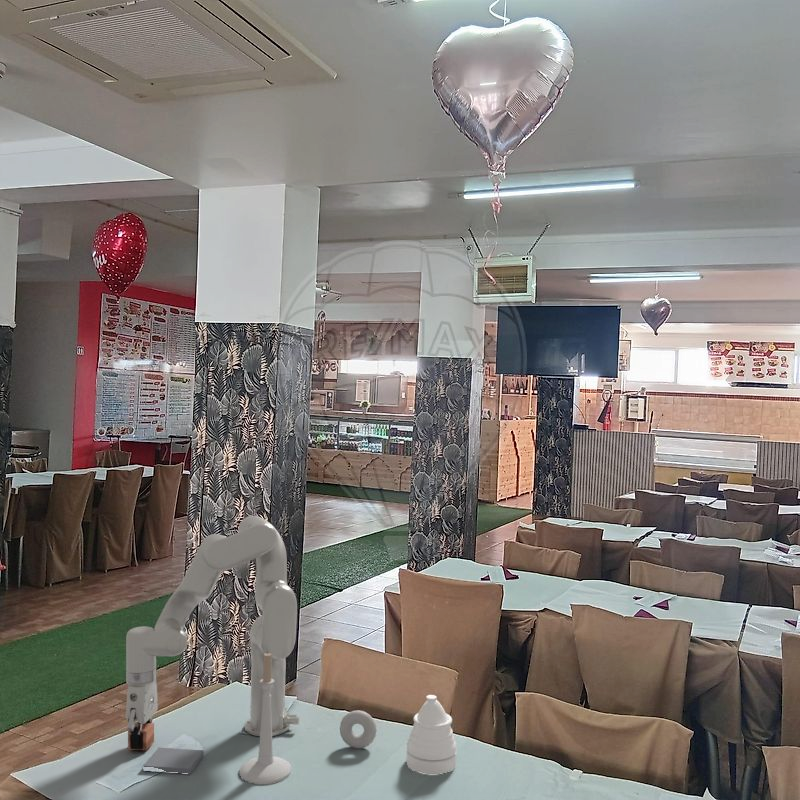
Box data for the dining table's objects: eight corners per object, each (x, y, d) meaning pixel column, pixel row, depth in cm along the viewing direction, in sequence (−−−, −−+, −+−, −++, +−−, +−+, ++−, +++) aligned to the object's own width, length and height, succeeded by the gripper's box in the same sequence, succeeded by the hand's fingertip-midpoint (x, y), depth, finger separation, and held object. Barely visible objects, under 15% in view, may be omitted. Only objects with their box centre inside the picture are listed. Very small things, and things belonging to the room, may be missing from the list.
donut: (377, 746, 213) (377, 709, 213) (375, 752, 210) (375, 714, 210) (340, 743, 214) (341, 706, 214) (338, 749, 211) (338, 712, 211)
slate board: (203, 756, 205) (203, 750, 205) (189, 774, 196) (189, 768, 196) (158, 753, 207) (158, 747, 206) (142, 771, 197) (142, 765, 197)
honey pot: (452, 778, 197) (454, 706, 196) (401, 772, 199) (403, 701, 199) (459, 754, 209) (460, 687, 209) (411, 749, 212) (412, 682, 212)
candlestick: (241, 787, 190) (243, 663, 190) (237, 762, 202) (239, 645, 202) (294, 781, 193) (296, 659, 193) (287, 757, 206) (289, 642, 205)
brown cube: (154, 741, 211) (154, 723, 211) (146, 750, 206) (146, 731, 206) (135, 740, 212) (135, 722, 212) (127, 749, 207) (127, 730, 207)
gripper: (141, 688, 200) (141, 759, 200) (167, 664, 217) (167, 730, 217) (113, 687, 201) (113, 758, 201) (140, 663, 218) (140, 729, 218)
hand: (141, 742), depth 209 cm, fingers closed on brown cube, 5 cm apart
